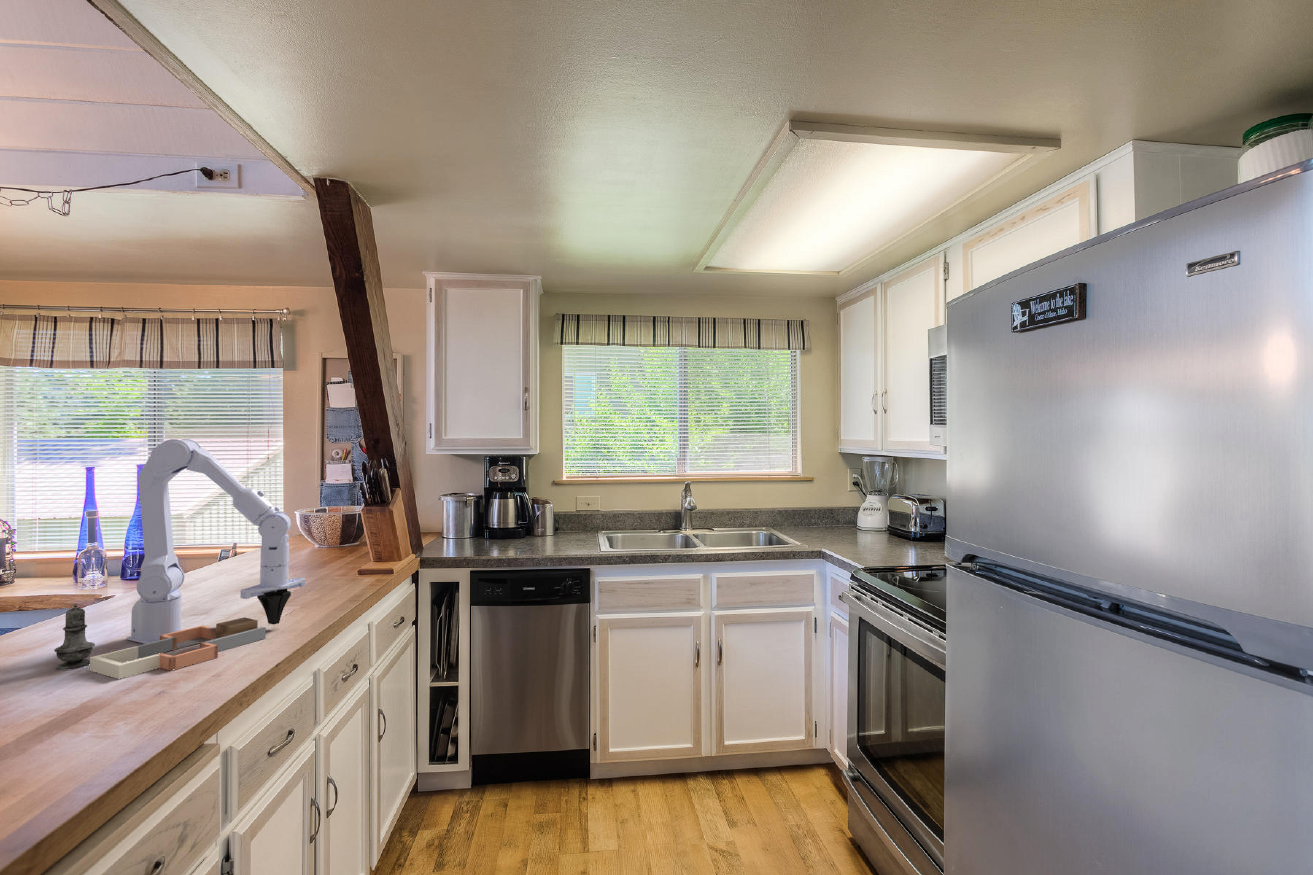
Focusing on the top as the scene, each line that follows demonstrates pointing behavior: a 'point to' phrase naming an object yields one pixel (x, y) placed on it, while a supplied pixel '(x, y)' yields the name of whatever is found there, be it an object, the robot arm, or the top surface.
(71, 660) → the salt shaker
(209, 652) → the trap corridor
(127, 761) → the top surface
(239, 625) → the walnut block
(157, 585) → the robot arm
